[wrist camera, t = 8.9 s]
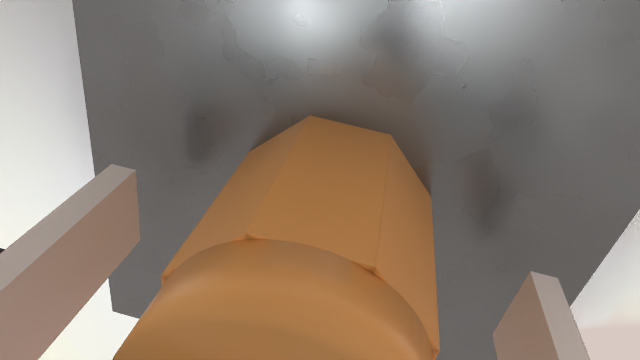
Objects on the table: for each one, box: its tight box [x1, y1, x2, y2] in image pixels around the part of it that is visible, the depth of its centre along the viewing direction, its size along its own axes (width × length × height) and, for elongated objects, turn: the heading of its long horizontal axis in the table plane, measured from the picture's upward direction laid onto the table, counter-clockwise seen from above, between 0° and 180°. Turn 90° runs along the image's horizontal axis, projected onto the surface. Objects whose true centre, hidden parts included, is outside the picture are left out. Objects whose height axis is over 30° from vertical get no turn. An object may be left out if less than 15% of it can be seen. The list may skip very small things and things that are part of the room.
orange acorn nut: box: [113, 115, 440, 360], centre depth 11 cm, size 6×6×10 cm
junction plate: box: [72, 0, 640, 360], centre depth 14 cm, size 19×18×7 cm
